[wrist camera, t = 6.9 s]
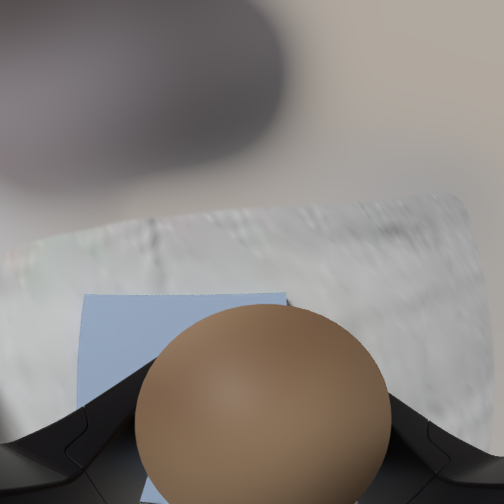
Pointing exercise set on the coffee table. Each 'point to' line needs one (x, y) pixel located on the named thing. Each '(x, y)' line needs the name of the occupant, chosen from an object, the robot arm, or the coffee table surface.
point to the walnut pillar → (263, 411)
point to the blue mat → (140, 337)
